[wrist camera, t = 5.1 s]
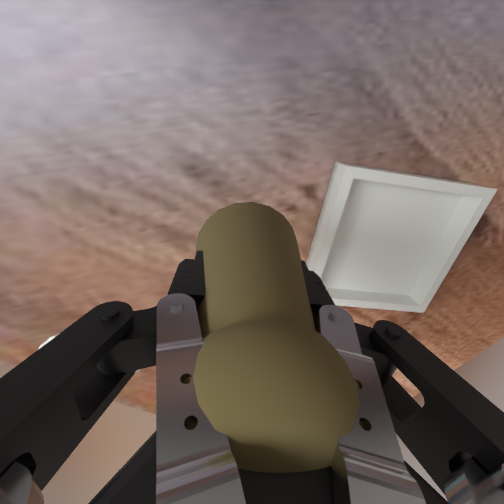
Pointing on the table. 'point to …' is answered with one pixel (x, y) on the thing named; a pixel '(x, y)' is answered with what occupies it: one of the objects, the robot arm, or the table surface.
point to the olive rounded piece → (266, 348)
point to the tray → (391, 235)
